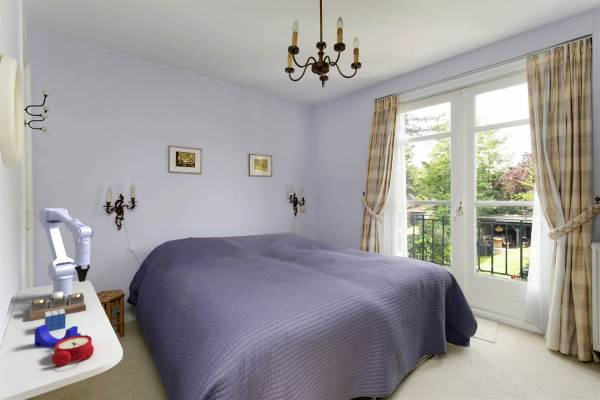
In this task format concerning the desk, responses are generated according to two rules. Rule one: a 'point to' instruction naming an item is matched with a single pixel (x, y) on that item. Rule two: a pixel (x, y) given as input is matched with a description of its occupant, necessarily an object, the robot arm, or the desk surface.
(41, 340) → the blue curved block
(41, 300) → the knob
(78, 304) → the knob panel
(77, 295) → the knob
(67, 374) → the desk surface
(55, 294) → the knob middle
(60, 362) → the alarm clock
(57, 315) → the puzzle toy
